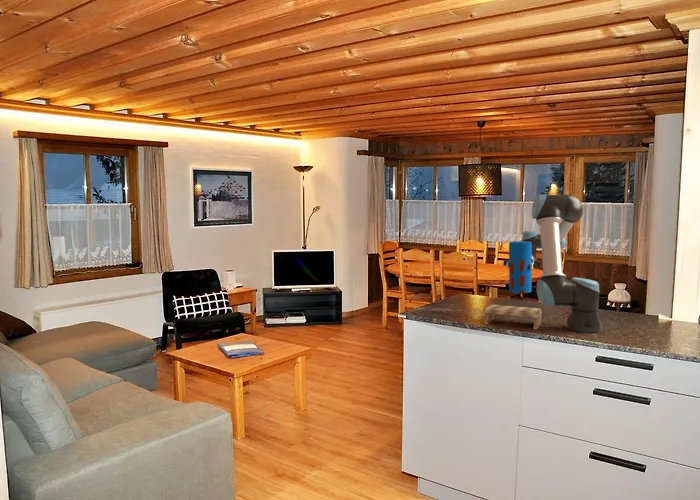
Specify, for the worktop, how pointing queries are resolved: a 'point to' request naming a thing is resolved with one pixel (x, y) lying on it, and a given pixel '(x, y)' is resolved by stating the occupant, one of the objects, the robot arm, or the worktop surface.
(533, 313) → the stool
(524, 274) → the thermos
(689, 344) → the worktop surface
